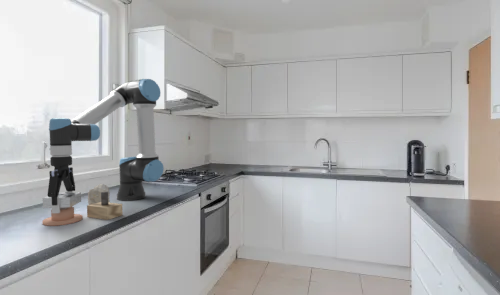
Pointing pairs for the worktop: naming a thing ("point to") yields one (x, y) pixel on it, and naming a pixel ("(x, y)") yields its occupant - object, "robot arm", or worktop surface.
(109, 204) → the stand
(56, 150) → the robot arm
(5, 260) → the worktop surface
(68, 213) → the hub
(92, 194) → the stone
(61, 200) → the grey square stone block
